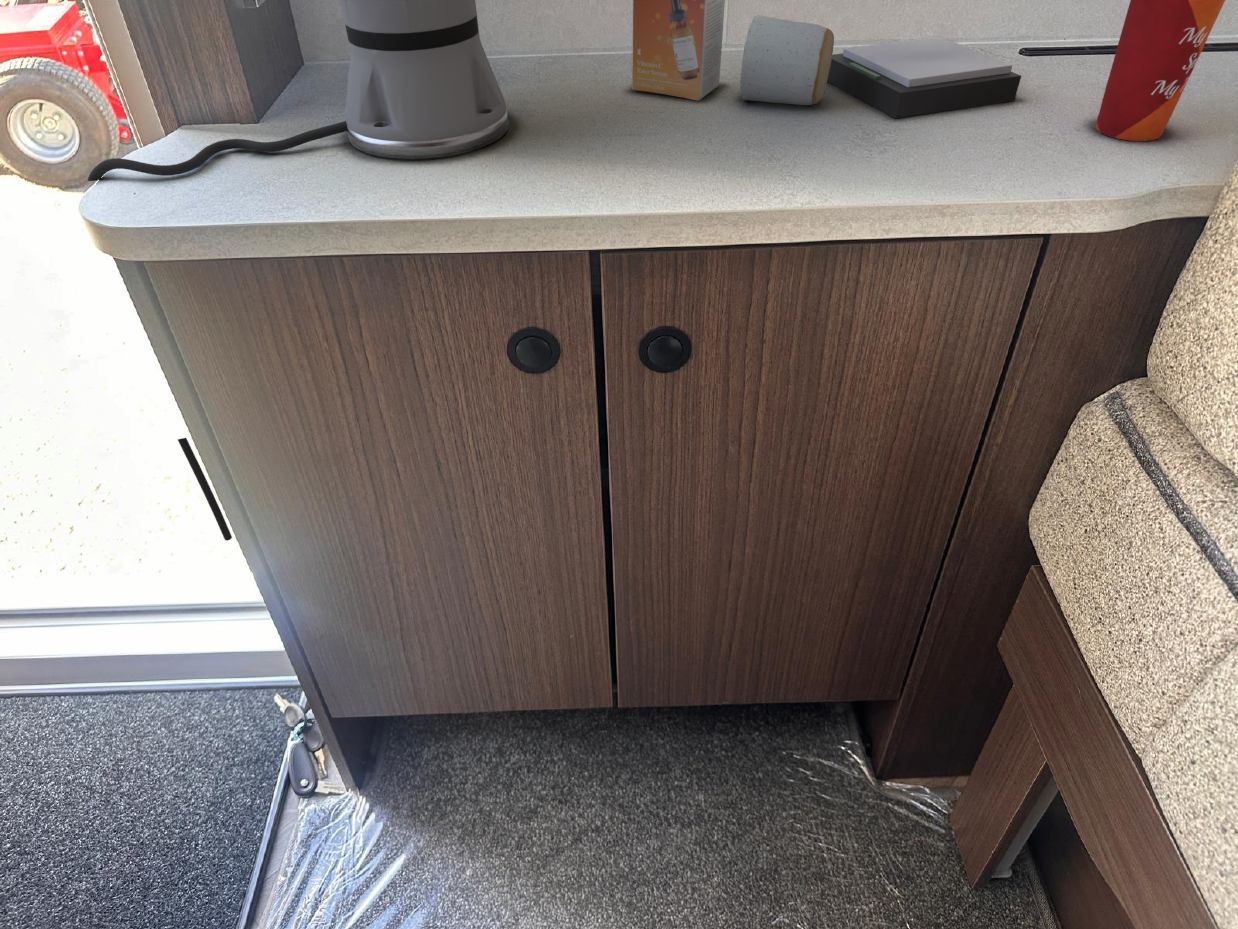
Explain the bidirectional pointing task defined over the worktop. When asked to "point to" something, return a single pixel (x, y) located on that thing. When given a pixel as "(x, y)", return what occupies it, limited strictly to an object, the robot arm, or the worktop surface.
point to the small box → (677, 46)
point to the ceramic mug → (785, 61)
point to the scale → (922, 76)
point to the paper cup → (1153, 65)
